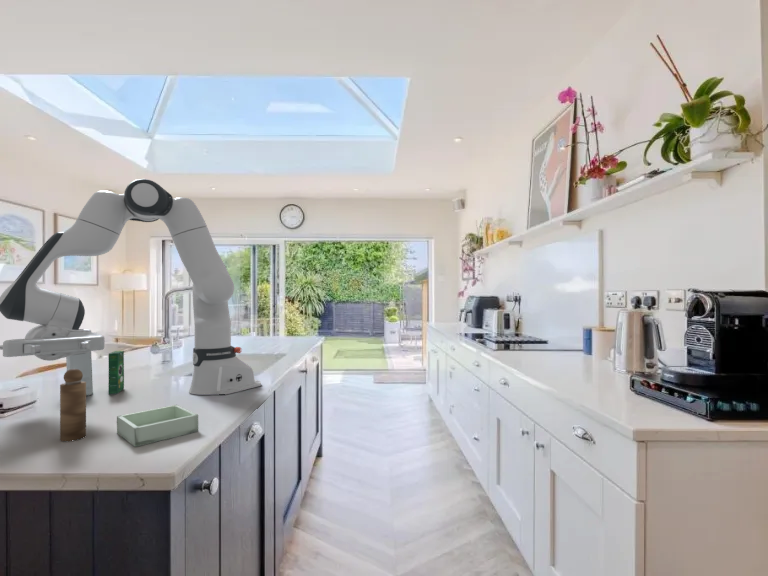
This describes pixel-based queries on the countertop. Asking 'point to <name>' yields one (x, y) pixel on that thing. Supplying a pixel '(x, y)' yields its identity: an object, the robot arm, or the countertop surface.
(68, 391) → the mill
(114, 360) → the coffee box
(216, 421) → the countertop surface
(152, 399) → the countertop surface
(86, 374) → the skincare box
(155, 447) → the countertop surface
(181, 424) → the bin
